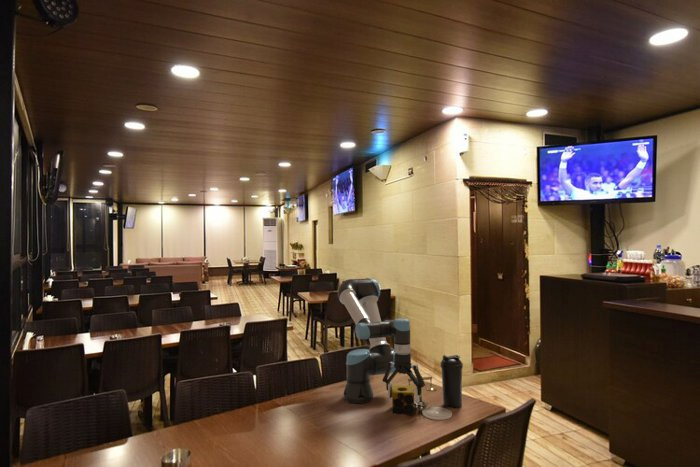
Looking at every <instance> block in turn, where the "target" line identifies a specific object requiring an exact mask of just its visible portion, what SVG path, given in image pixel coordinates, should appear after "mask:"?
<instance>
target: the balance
mask: <svg viewBox="0 0 700 467" xmlns="http://www.w3.org/2000/svg"><path fill="white" fill-rule="evenodd" d="M421 377H422V379H423V381H428V380H429V383H430V386H426V387H425V391H427V392H437V388H436V387H434V386H433V385H432V379H433V376H422V375H421ZM416 379H417V377H416ZM417 380H418V379H417ZM407 381H408V386H411V382H413V381H412V380H411V378H410V377H409V378H407ZM414 396H416V393H415V392H414ZM419 399H420V402H422V401H423V402H424V403H425V405H426V406H427V405H428V404H429V402H428V401H424V400H423V387H421V395H419ZM414 401H416V399H414Z"/></svg>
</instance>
